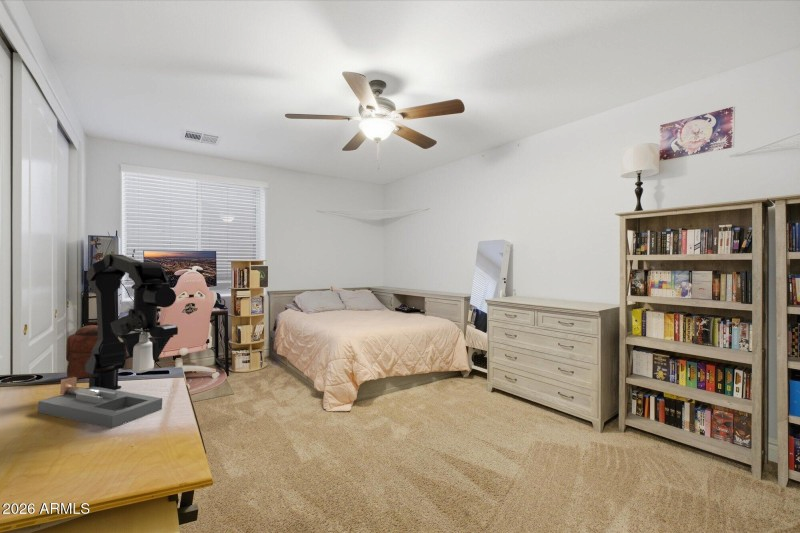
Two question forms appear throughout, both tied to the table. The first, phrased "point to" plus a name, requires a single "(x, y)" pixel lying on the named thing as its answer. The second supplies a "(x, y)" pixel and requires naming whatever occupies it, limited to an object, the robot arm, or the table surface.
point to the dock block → (101, 407)
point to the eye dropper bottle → (143, 354)
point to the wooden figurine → (80, 350)
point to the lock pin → (70, 387)
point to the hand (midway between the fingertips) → (143, 358)
